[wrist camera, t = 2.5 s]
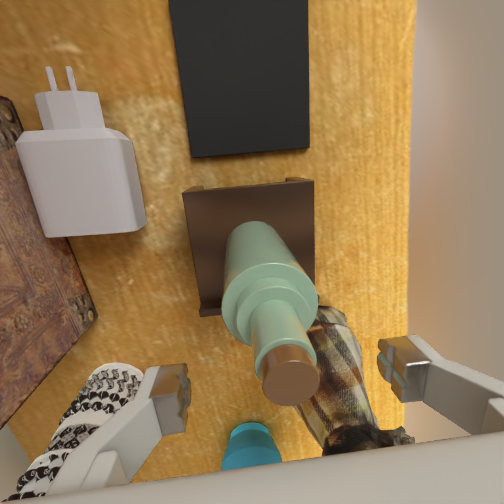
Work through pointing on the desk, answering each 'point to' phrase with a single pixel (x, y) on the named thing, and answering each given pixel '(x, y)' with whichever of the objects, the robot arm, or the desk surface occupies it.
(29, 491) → the decorative candle
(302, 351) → the bottle
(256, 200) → the shelf
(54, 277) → the book
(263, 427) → the perfume bottle
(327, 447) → the plush toy
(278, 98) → the mat
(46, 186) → the charger
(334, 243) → the desk surface
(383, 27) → the desk surface
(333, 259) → the desk surface
